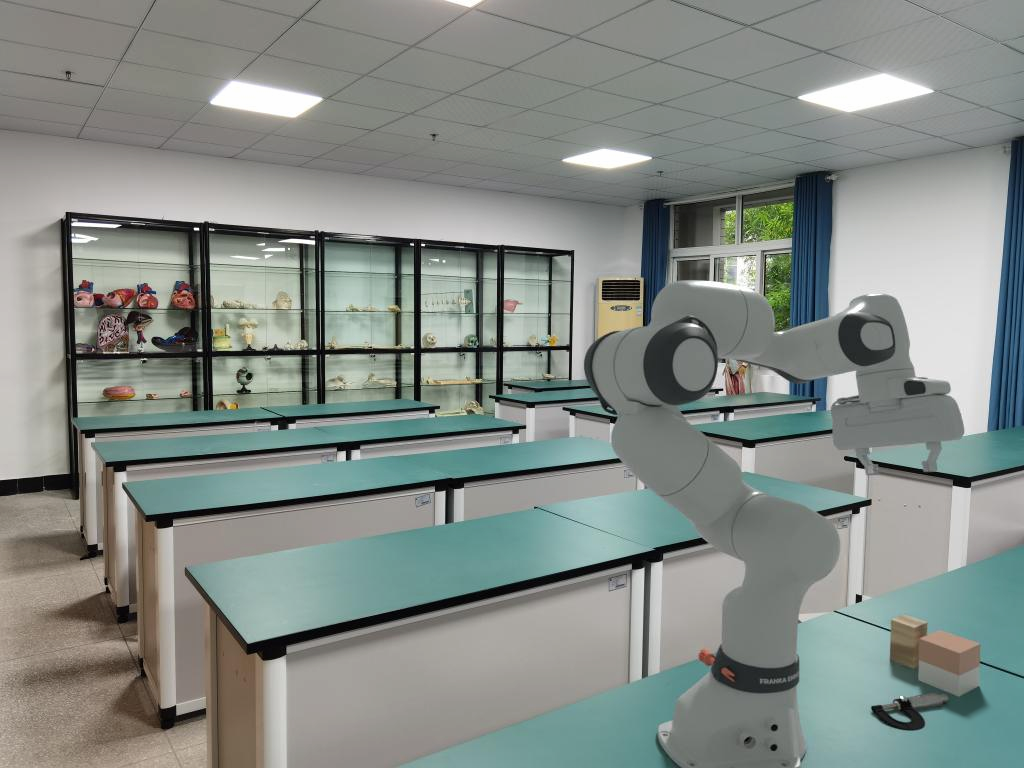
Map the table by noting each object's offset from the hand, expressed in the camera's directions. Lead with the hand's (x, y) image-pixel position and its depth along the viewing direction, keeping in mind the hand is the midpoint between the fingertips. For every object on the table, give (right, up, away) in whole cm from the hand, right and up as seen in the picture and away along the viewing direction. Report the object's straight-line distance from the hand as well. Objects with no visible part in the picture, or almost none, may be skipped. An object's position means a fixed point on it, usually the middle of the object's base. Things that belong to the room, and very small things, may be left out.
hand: (900, 473), depth 118 cm
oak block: (+12, -39, +20) cm, 45 cm away
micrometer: (+4, -41, +1) cm, 41 cm away
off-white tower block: (+15, -40, +12) cm, 44 cm away
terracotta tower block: (+15, -36, +11) cm, 40 cm away
